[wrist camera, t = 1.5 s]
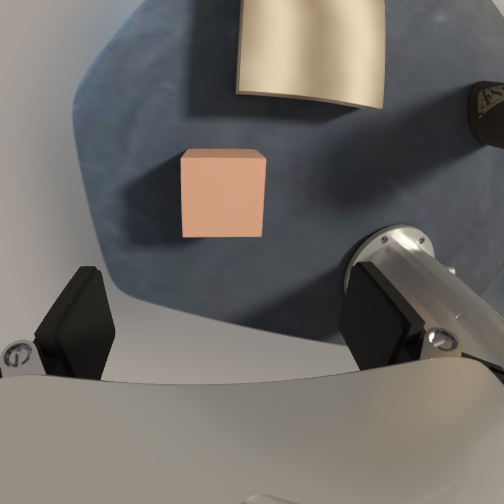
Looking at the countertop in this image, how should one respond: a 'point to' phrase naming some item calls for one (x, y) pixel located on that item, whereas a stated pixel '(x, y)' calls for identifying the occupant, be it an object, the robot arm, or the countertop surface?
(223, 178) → the cube
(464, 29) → the countertop surface
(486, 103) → the container
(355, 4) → the base
